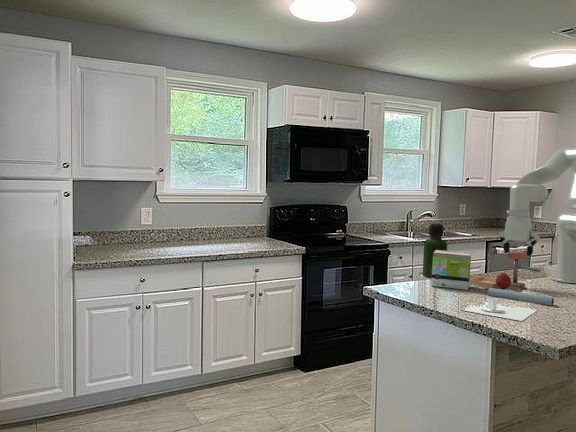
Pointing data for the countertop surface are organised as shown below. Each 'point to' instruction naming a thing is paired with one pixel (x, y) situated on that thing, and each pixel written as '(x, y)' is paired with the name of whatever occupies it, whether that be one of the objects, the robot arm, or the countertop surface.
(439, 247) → the green bottle
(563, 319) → the countertop surface
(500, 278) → the onion
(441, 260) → the tea box
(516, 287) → the tan frame with plate
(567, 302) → the countertop surface
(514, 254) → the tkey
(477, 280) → the dish
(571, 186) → the robot arm
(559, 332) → the countertop surface
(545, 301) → the aluminum foil
